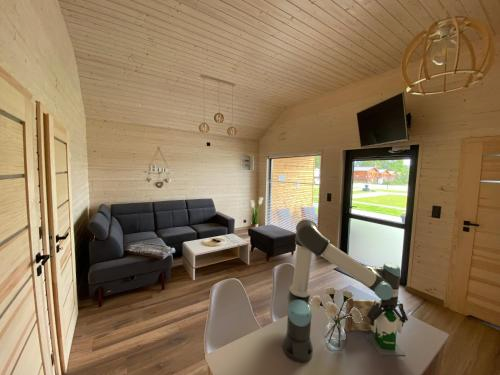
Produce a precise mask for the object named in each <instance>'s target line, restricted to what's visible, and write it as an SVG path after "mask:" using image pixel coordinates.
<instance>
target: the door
mask: <svg viewBox="0 0 500 375" xmlns="http://www.w3.org/2000/svg"><path fill="white" fill-rule="evenodd" d="M375 300H376V299H375ZM375 300H373V299H353V306H352V308H353V307H355V308H357V309H358V310H359V311H360V313H361V315H362V318H363V320H362V322H360V323H355V322H354V321H353V319H351V331H368V332H369V331H371V332H373V331H372V329H371V324H370V319H369V318H368V316H367V314H368V313H369V311H370V310H371V308H372V306H373V305H374V301H375ZM376 301H377V302H380V301H381V299H380V300H378V299H377V300H376ZM376 320H377V319H376Z"/></svg>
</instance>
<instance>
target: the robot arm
mask: <svg viewBox="0 0 500 375" xmlns="http://www.w3.org/2000/svg"><path fill="white" fill-rule="evenodd" d="M295 226H296V227H295V231H296V232H295V241H294V244H295V246H296V247H297V248H296V254H295V263H294V268H293V269H294V272H293V279H292V285H290V286H289V290H288V294H287V322H286V323H287V324H286V334H285V335H284V337H283V341H282V350H283V353H284V355H286V357H287V358H289V359H290V360H292V361H294V362H298V363H305V362H308V361H310V360H311V359H312V358H313V354H314V347H313V344H312V343H313V342H312V340H311V329H312V328H311V326H312V318H313V317H312V316H313V315H312V314H313V313H312V308H311V306H310V299H311V298H310V297H311V291H310V289H309V285H310V284H309V283H310V276H311V268H312V259H313V254H314V255H315V256H317V257H322V258H324V260H327V261H328V262H329V263H331V264H332V265H334V266H335V267H337V268H338V269H340V270H341V271H343V272H344V273H346V274H347V275H348V276H350V277H351V278H353V279H355V280H356V281H357V282H359V283H361V284H362V285H364V286H365V287H366V288H368V289H369V290H371V291H372V292H373V293H374V294H375V295H376V296H377V297H378V298H379V299H380V300H381V301H380V302H377V301H376V299H375V301H374V305H373V306H372V308H371V310H370V311H369V313H368V314H367V316H368V318H369V319H370V324H371V329H372V331H371V332H373V333H374V334H375V333H376V319H377V318H378V317H379V316H380V315H381V314H382V313H383V312H385V311H386V310H392V311H393V312H394V313H395V314H396V315H397V316H398V318H399V320H398V323H397V333H398V334H400V335H401V334H402V332H403V331H402V330H403V327H404V324H405V323H406V322H407V321H408V320H409V319H408V316H407V313H406V312H405V309H404V303H402V302H401V301H400V300H399V292H400V281H401V276H402V275H401V268H400V267H399V265H397V264H395V263H391V262H385V263H383V266H382V267H381V266H373V265H372V266H371V265H364V264H362V263H360V262H359V261H358V260H356V259H354V258H352V257H351V256H350V255H348V254H347V253H346V252H344V251H342V250H341V249H339V248H338V247H336V246H335V245H333V244H332V243H331V242H330V239H328V238H327V237H326V236H324V235H323V234H322V233H321V231H320V230H319V228H318V224H316V222H314V220H312V219H307V218H304V219H302V220H299V221H298V222H297V224H296V225H295ZM382 308H383V309H382ZM396 308H398V309H399V311H398V310H397V309H396ZM399 312H400V313H399Z"/></svg>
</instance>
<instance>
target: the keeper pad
mask: <svg viewBox="0 0 500 375" xmlns="http://www.w3.org/2000/svg"><path fill="white" fill-rule="evenodd" d="M366 337H367V338H368V340H369V341H370V343H371V344H372V346H373V348H374V349H375V350H376V351H377V353H378V355H379V356H404V357H405V356H406V354H405V353H404V351H403V350H402V349H401V348H400V346H399V345H398V344H397V343H396V347H395V350H389V349H381V347H380V346H379V344H378V343H377V341H376V339H375V333H374V334H373V333H372V334H371V333H367V334H366Z"/></svg>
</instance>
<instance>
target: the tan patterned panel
mask: <svg viewBox="0 0 500 375" xmlns="http://www.w3.org/2000/svg"><path fill="white" fill-rule="evenodd" d="M353 300H354V298H353V297H352V296H351V298H350V299H349V300H347V299H346V305H345V306H346V307H345V308H346V309H345V315H346V314H349V313H350V311H351V309H352V306H353ZM345 318H346V317H345ZM345 318H344V319H345ZM351 319H352V317H347V318H346V319H345V320H344V329H345V331H346V332H347V333H349V332H351V331H352V330H351Z"/></svg>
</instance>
